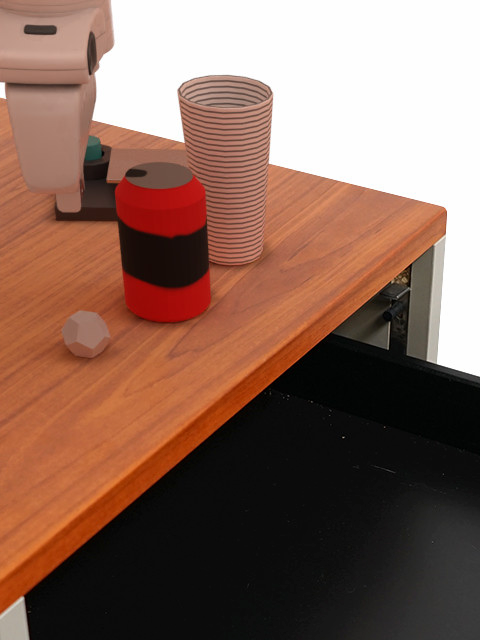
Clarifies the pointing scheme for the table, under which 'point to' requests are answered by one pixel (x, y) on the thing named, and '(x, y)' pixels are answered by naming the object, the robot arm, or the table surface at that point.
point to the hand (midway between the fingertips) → (71, 202)
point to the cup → (229, 159)
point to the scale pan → (140, 160)
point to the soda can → (163, 242)
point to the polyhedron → (85, 334)
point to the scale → (95, 192)
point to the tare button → (93, 149)
